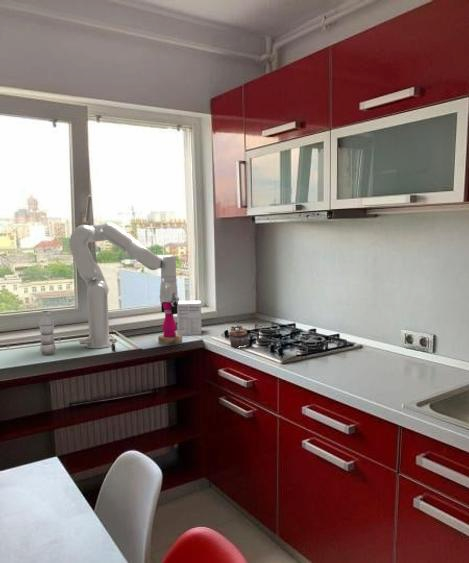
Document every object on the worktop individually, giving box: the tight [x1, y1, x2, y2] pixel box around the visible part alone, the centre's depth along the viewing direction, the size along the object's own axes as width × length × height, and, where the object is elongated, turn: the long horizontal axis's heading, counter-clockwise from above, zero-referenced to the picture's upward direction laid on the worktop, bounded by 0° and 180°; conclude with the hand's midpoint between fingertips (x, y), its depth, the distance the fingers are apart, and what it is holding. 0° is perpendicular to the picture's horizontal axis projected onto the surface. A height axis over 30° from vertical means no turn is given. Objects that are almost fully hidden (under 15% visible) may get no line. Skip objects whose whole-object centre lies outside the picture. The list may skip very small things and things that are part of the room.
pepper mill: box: [162, 302, 178, 337], centre depth 235 cm, size 7×7×20 cm
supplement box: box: [176, 300, 202, 336], centre depth 259 cm, size 13×13×18 cm
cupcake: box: [228, 324, 250, 349], centre depth 224 cm, size 10×10×10 cm
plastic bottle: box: [38, 310, 56, 356], centre depth 212 cm, size 6×7×20 cm
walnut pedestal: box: [157, 333, 183, 346], centre depth 236 cm, size 12×12×3 cm
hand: (169, 313), depth 235 cm, fingers open, 9 cm apart
